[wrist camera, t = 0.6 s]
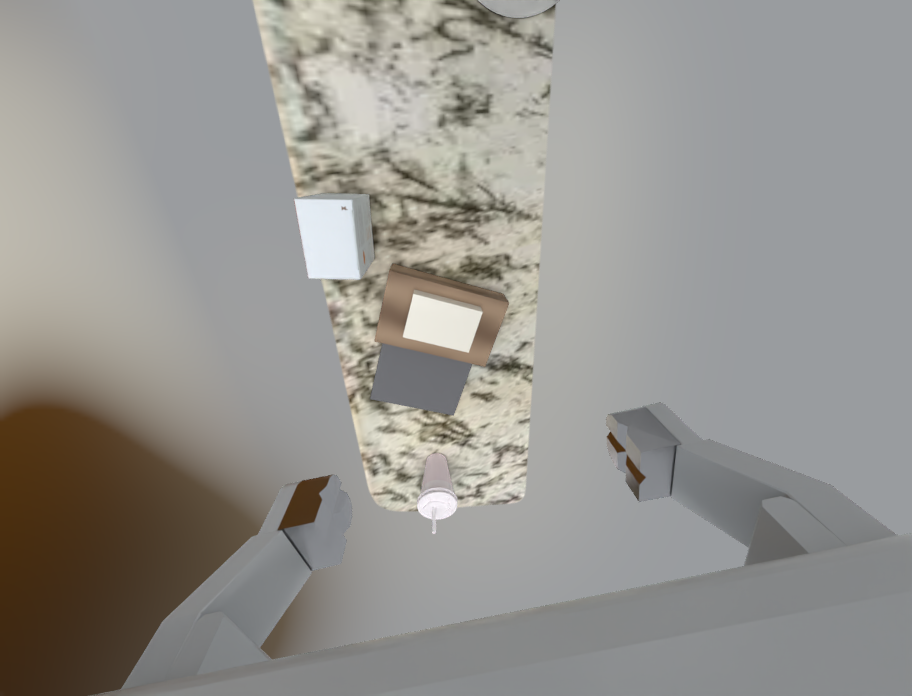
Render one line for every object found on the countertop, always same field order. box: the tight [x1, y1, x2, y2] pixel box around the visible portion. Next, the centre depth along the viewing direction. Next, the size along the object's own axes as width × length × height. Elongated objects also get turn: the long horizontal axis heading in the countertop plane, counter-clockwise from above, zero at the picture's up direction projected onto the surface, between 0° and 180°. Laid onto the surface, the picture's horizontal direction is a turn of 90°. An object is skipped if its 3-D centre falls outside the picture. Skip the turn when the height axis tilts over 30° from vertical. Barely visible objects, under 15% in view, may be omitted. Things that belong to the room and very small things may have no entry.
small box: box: [294, 193, 375, 280], centre depth 38 cm, size 8×6×10 cm
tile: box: [403, 289, 483, 353], centre depth 44 cm, size 6×9×2 cm, turn 74°
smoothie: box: [417, 453, 457, 534], centre depth 55 cm, size 6×6×14 cm
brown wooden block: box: [375, 264, 509, 367], centre depth 47 cm, size 10×16×4 cm, turn 73°
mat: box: [370, 343, 472, 415], centre depth 53 cm, size 12×14×1 cm
